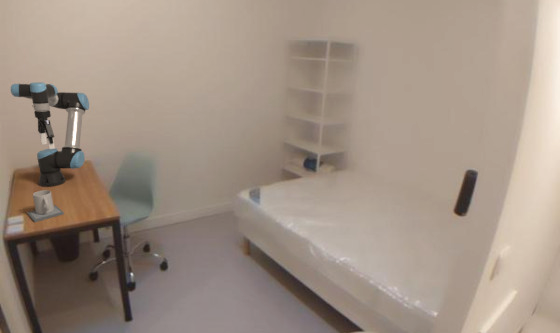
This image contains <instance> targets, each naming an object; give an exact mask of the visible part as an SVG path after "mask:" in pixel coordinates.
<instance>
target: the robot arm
mask: <svg viewBox="0 0 560 333" xmlns="http://www.w3.org/2000/svg"><path fill="white" fill-rule="evenodd" d="M58 91H59V90H58V88H57V86H55V85H54V84H52V83H45V82H39V81H38V82H31V83H29V84H28V83H13V84H12V85H10V94H11V95H12V96H13V97H16V98H25V99H29V100H31V101H32V105H31V106H32V107H33V110H34V118H37V132H38V133H39V136H40V142H41V143H40V144H41V145H47V144H48V148H46V149H42V150H40V151H38V152H37V153H36V155H37V163H38V168H39V178H38V185H39V186H40V187H44V188H45V187H47V188H49V187H56V186H61V185H63V184H64V183H65V182H66V177H65V175H64V174H63V173H62V170H61V169H63V170H64V169H71V170H75V169H80V168H81V167H82V166H83V165H84V162H85V158H86V157H85V153H84V151H82V150H83V149H82V147H80V144H81V134H82V122H83V115H84V114H86V111H87V110H88V111H89V109H90V101H89V98H88V96H87V95H86V94H85V93H84V92H65V91H64V92H63V91H61V92H60V91H59V92H58ZM50 107H51V108H54V109H55V108H56V109H60V110H65V111H66V112H67V122H66V131H65V140H64V145H63V146H62V147H61V150H60V151H59V150H58V149H57V148H56V147H55V141H54V138H55V135H54V131H53V127H52V124H51V120H50V119H48V118H51V116H52V115H51V110H50V109H51V108H50Z"/></svg>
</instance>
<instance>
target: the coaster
mask: <svg viewBox="0 0 560 333" xmlns="http://www.w3.org/2000/svg"><path fill="white" fill-rule="evenodd" d="M53 206H54V211H53V212H51V213H48V214H37V213H36V210H35V209H34V210H31V211H27V212H26V214H27V216H28V217H29V218H30V219H31V220H32V221H33V222H34V223H37V222H41V221H44V220H48V219H51V218H57V217H58V216H59V217H60V216H63V215H64V214H65V212H64V211H63V210H62V209H61V208H59V206H57V205H56V204H55V205H54V204H53Z"/></svg>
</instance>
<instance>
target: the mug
mask: <svg viewBox="0 0 560 333" xmlns="http://www.w3.org/2000/svg"><path fill="white" fill-rule="evenodd" d="M32 198H33V203H34V210H36V213H37V214H48V213H51V212H53V211H54V201H53V195H52V191H51V190H48V189H45V190H39V191H36V192H33V194H32Z"/></svg>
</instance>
